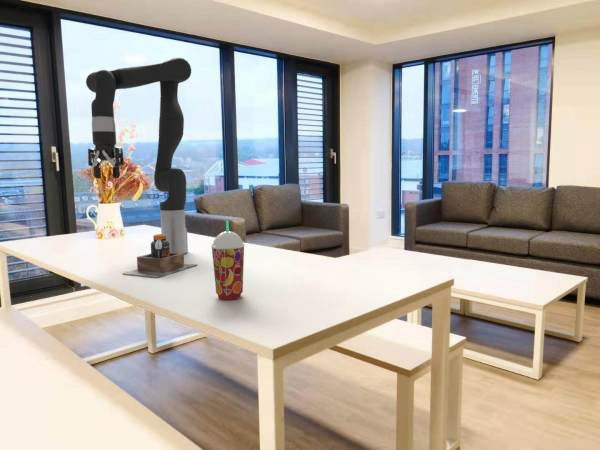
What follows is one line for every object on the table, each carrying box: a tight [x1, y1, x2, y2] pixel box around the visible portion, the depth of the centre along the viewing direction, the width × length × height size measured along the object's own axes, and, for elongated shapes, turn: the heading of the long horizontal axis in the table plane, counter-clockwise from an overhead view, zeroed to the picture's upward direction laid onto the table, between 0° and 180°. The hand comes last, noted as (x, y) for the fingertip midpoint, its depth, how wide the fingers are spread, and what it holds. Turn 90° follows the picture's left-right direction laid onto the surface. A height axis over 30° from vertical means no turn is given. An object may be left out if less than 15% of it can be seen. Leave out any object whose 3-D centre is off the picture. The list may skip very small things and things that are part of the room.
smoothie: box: [210, 220, 246, 301], centre depth 124 cm, size 8×8×20 cm
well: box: [122, 253, 198, 279], centre depth 160 cm, size 20×14×5 cm
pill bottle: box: [150, 234, 170, 258], centre depth 160 cm, size 6×6×11 cm
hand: (106, 178), depth 169 cm, fingers open, 8 cm apart
